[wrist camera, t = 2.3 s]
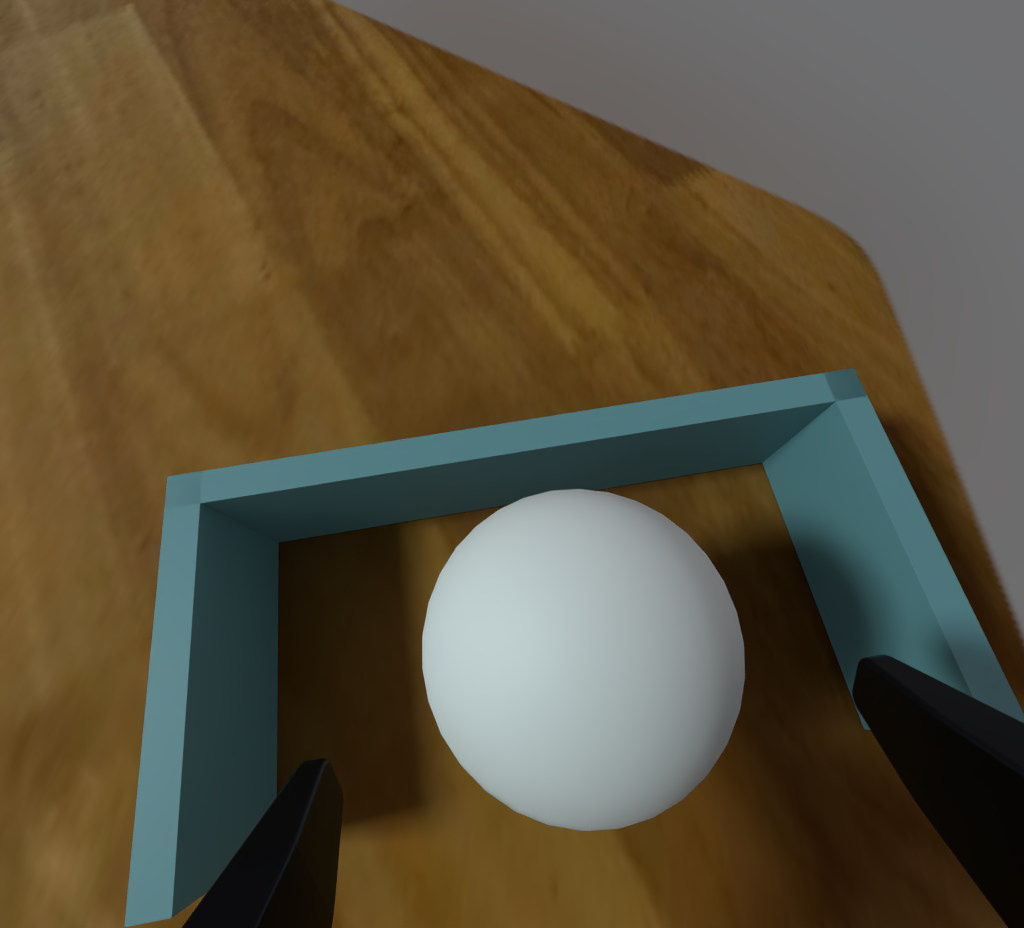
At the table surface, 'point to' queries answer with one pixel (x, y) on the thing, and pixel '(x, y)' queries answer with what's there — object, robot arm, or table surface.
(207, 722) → the u-shaped channel
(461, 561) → the lightbulb
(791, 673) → the table surface
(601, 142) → the table surface
